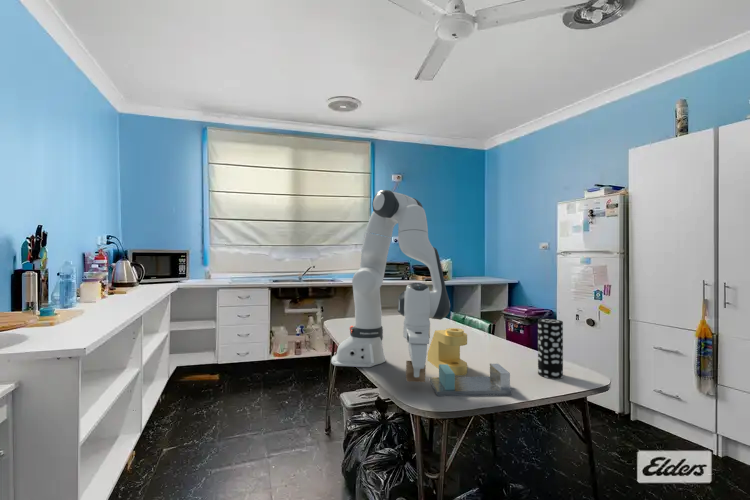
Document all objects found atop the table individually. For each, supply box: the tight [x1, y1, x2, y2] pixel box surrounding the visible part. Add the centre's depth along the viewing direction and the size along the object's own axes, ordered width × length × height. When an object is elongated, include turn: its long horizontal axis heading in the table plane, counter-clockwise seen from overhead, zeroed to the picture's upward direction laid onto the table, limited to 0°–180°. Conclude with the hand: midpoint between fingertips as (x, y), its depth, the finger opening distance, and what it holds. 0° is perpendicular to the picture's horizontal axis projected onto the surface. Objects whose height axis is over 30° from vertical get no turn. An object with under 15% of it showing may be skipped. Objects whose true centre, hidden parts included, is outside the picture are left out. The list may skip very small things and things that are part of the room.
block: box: [405, 360, 427, 383], centre depth 124 cm, size 6×4×6 cm
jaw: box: [438, 364, 456, 390], centre depth 124 cm, size 3×10×5 cm, turn 2°
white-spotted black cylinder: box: [537, 318, 564, 380], centre depth 137 cm, size 8×8×20 cm
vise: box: [429, 363, 513, 397], centre depth 125 cm, size 24×13×6 cm, turn 92°
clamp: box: [427, 327, 468, 377], centre depth 146 cm, size 20×9×16 cm, turn 15°
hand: (415, 373), depth 124 cm, fingers closed on block, 4 cm apart
